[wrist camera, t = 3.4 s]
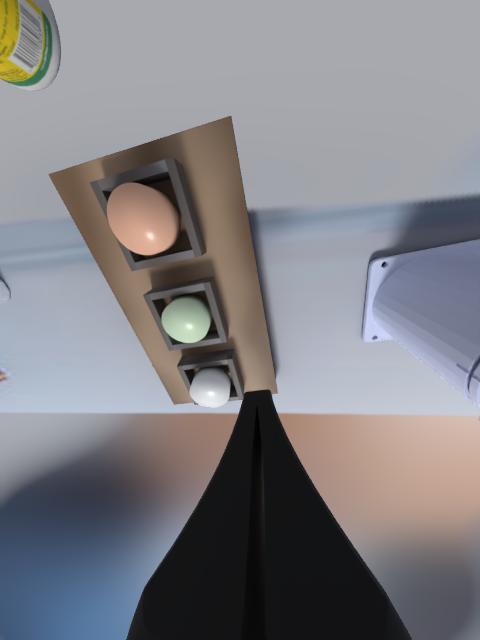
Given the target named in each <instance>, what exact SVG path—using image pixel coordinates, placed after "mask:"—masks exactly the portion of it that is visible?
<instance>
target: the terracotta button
mask: <svg viewBox="0 0 480 640" xmlns="http://www.w3.org/2000/svg"><path fill="white" fill-rule="evenodd" d="M107 217H108V221H109V225H110V227H111V229H112V231H113V233H114V235H115V236H116V238H117V239H118V240H119V241H120V242H121V243H122V244H123V245H124V246H125V247H126V248H128V249H129V250H131V251H133V252H135V253H137V254H141V255H153V254H156V253H159V252H162V251H165V250H167V249H170V248H171V247H172V246H173V245H174V244H175V243H176V242H177V240H178V238H179V235H180V230H181V222H180V217H179V214H178V211H177V209H176V207H175V205H174V204H173V202H172V201H171V200H170V199H169V198H168V197H167V196H166V195H165V194H164V193H162V192H160V191H159V190H156V189H154V188H151V187H148V186H145V185H142V184H138V183H124V184H122V185H120V186H118V187H116V188H115V189H114V190H113V192H112V193H111V195H110V197H109V199H108V203H107Z"/></svg>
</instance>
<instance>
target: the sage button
mask: <svg viewBox="0 0 480 640" xmlns="http://www.w3.org/2000/svg"><path fill="white" fill-rule="evenodd" d="M211 321H212V311H211V308H210V306H209V304H208V303H207V302H206V301H205V300H204V299H203V298H201V297H199V296H197V295H194V294H182V295H179V296H177V297H176V298H175V299H174V300H173V301H172V302H171V303H170V304H169V305H168V306H167V307H166V308H165V309H164V311H163V313H162V325H163V327H164V329H165V331H166V332H167V333H168V334H169V335H170V336H171V337H172V338H174V339H175V340H178V341H180V342H184V343H194V342H197V341H199V340H201V339H203V338H204V337H205V335H206V334H207V332H208V329H209V327H210V324H211Z"/></svg>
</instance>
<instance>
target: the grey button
mask: <svg viewBox="0 0 480 640" xmlns="http://www.w3.org/2000/svg"><path fill="white" fill-rule="evenodd" d="M230 386H231V378H230V376H229V375H228V373H227V372H225V371H224V370H222V369H220V368H218V367H212V366H210V367H204V368H201V369H199V370H198V371H197V372H196V374H195V376H194V379H193V381H192V384H191V387H190V391H189V393H190V396H191V398H192V399H193V400H194V401H195V402H196V403H198V404H199V405H202V406H205V407H219V406H222V405H224V404H225V403H226V402H227V401H228V399H229V395H230Z"/></svg>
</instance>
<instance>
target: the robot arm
mask: <svg viewBox="0 0 480 640" xmlns="http://www.w3.org/2000/svg"><path fill="white" fill-rule="evenodd" d="M383 262H385V265H384V266H383V267H381V265H382V263H383ZM373 336H374V337H373ZM372 337H373V338H372ZM362 339H363V340H364V341H365V342H374V341H382V340H389V339H395V340H396V341H397V342H398V343H400V344H401V345H402V346H403V347H405V348H406V349H407V350H408V351H409V352H411V353H412V354H413V355H414V356H416V357H417V358H418V359H419V360H421V361H422V362H423V363H424V364H425V365H427V366H428V367H429V368H430V369H432V370H433V371H434V372H435V373H436V374H438V375H439V376H440V377H441V378H443V379H444V380H445V381H446V382H447V383H449V384H450V385H451V386H452V387H454V388H455V389H456V390H457V391H458V392H460V393H461V394H462V395H463V396H465V397H466V398H467V399H468V400H470V401H471V402H472V403H473V404H475V405H476V406H477V407H478V408H479V410H480V239H477V240H472V241H466V242H461V243H456V244H451V245H446V246H440V247H435V248H430V249H425V250H420V251H414V252H409V253H404V254H399V255H394V256H389V257H383V258H378V259H375V260H373V261H372V262H371V263H370V265H369V272H368V281H367V291H366V301H365V311H364V321H363V331H362ZM479 420H480V416H479ZM126 640H412V639H411V637H410V635H409V633H408V631H407V629H406V628H405V626H404V624H403V622H402V620H401V619H400V617H399V615H398V613H397V612H396V610H395V608H394V607H393V605H392V603H391V601H390V599H389V597H388V596H387V594H386V592H385V591H384V589H383V588H382V586H381V585H380V584H379V582H378V581H377V579H376V578H375V576H374V575H373V574H372V572H371V571H370V569H369V568H368V567H367V565H366V564H365V562H364V561H363V559H362V558H361V556H360V555H359V554H358V552H357V551H356V549H355V548H354V547H353V545H352V543H351V542H350V540H349V539H348V537H347V536H346V534H345V533H344V531H343V530H342V528H341V527H340V525H339V524H338V522H337V521H336V519H335V518H334V517H333V515H332V513H331V511H330V510H329V508H328V507H327V505H326V504H325V502H324V501H323V499H322V497H321V496H320V494H319V493H318V491H317V490H316V488H315V486H314V484H313V483H312V481H311V479H310V478H309V476H308V474H307V473H306V471H305V469H304V467H303V465H302V464H301V462H300V460H299V458H298V456H297V454H296V452H295V451H294V449H293V447H292V445H291V443H290V441H289V439H288V437H287V435H286V432H285V430H284V428H283V426H282V424H281V422H280V419H279V417H278V414H277V411H276V409H275V406H274V403H273V399H272V394H271V390H269V389H266V390H257V391H248V392H245V393H244V397H243V401H242V405H241V408H240V412H239V415H238V418H237V421H236V424H235V426H234V429H233V432H232V435H231V437H230V440H229V442H228V444H227V447H226V449H225V452H224V454H223V456H222V458H221V460H220V463H219V465H218V467H217V469H216V471H215V473H214V475H213V477H212V479H211V481H210V482H209V484H208V486H207V488H206V490H205V492H204V494H203V496H202V498H201V499H200V501H199V503H198V505H197V506H196V508H195V510H194V511H193V513H192V515H191V516H190V518H189V520H188V521H187V523H186V524H185V526H184V528H183V529H182V531H181V533H180V534H179V536H178V538H177V539H176V541H175V542H174V544H173V545H172V547H171V549H170V550H169V551H168V553H167V554H166V556H165V557H164V559H163V560H162V562H161V563H160V565H159V566H158V568H157V569H156V571H155V572H154V574H153V575H152V577H151V578H150V580H149V581H148V583H147V584H146V586H145V588H144V590H143V592H142V595H141V598H140V600H139V603H138V606H137V609H136V612H135V614H134V617H133V620H132V623H131V626H130V629H129V633H128V636H127V639H126Z"/></svg>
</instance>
